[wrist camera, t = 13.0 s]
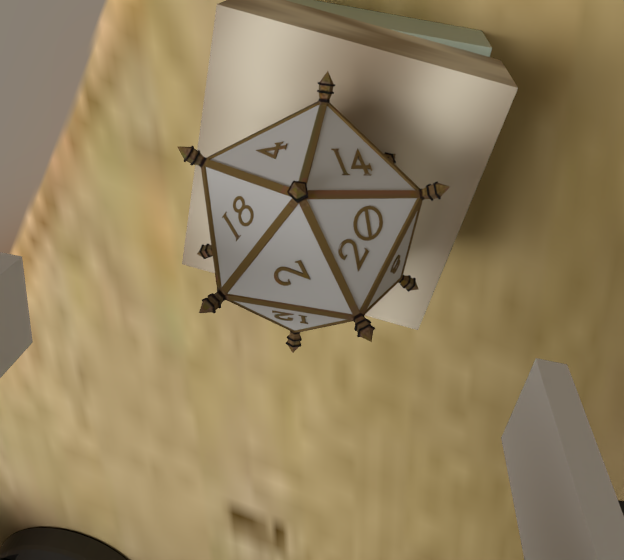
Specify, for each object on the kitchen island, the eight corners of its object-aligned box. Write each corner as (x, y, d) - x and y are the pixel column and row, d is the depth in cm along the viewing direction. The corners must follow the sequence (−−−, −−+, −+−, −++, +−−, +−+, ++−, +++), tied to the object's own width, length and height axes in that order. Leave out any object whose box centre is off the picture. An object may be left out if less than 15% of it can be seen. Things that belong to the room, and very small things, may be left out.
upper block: (214, 217, 31) (182, 263, 27) (250, -10, 25) (216, 4, 21) (417, 274, 31) (418, 330, 27) (500, 60, 25) (517, 87, 21)
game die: (320, 107, 26) (304, -38, 16) (462, 243, 25) (539, 178, 15) (172, 251, 26) (64, 194, 16) (311, 394, 25) (288, 429, 15)
